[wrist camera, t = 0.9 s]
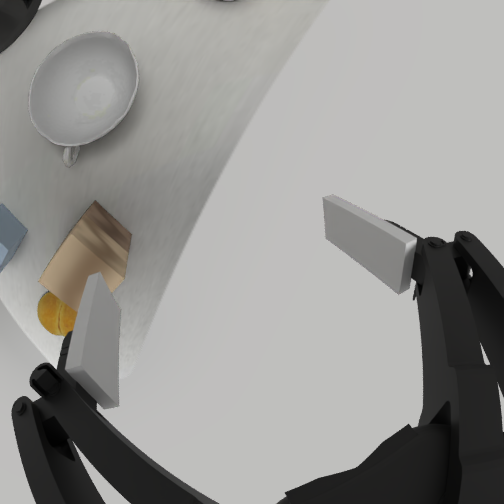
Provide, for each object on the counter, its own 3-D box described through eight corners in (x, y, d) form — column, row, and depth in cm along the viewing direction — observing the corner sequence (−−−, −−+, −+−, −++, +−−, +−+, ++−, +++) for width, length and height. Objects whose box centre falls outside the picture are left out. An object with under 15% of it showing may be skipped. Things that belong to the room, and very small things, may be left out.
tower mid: (53, 255, 27) (38, 281, 22) (85, 213, 26) (71, 233, 21) (95, 290, 30) (88, 320, 25) (128, 252, 30) (124, 278, 25)
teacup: (68, 46, 21) (49, 29, 14) (156, 55, 26) (156, 36, 19) (39, 156, 26) (13, 165, 19) (123, 167, 31) (115, 178, 24)
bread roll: (41, 282, 33) (33, 297, 29) (91, 299, 37) (87, 314, 34) (39, 322, 35) (33, 337, 32) (85, 337, 39) (82, 353, 36)
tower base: (65, 237, 32) (53, 255, 27) (95, 200, 31) (85, 213, 26) (101, 267, 35) (95, 290, 30) (131, 234, 35) (128, 252, 30)
